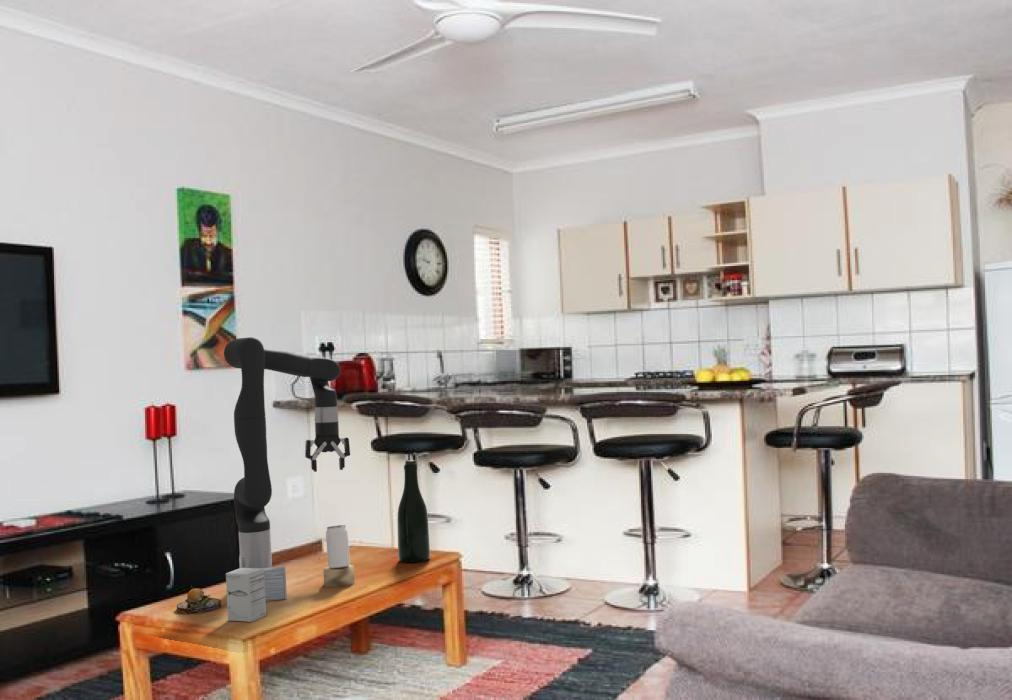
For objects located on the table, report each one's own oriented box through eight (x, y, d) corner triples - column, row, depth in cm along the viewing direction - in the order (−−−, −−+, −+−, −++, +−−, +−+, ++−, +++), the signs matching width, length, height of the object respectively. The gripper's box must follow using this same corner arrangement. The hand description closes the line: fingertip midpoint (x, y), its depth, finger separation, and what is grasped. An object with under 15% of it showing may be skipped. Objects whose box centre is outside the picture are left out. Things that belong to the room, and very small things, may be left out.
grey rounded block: (326, 589, 282) (325, 572, 282) (322, 583, 291) (321, 566, 291) (357, 585, 285) (356, 568, 285) (351, 579, 294) (350, 563, 294)
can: (351, 564, 291) (348, 524, 292) (348, 567, 285) (345, 526, 286) (330, 566, 291) (327, 526, 292) (326, 569, 285) (323, 528, 286)
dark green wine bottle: (405, 556, 324) (402, 458, 324) (434, 556, 321) (430, 458, 321) (393, 562, 314) (389, 462, 314) (423, 563, 311) (418, 461, 311)
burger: (229, 607, 267) (228, 580, 268) (193, 617, 258) (191, 589, 258) (204, 602, 275) (202, 576, 275) (167, 611, 265) (166, 584, 266)
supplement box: (226, 621, 251) (224, 573, 251) (244, 613, 258) (241, 566, 258) (250, 622, 248) (248, 573, 248) (267, 615, 255) (264, 567, 255)
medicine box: (287, 596, 276) (285, 565, 276) (286, 599, 271) (284, 569, 271) (258, 598, 274) (257, 568, 275) (257, 602, 270) (256, 571, 270)
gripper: (306, 422, 306) (308, 473, 306) (350, 420, 312) (352, 470, 311) (302, 421, 313) (304, 471, 313) (345, 419, 319) (347, 468, 318)
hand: (328, 470), depth 312 cm, fingers open, 8 cm apart
